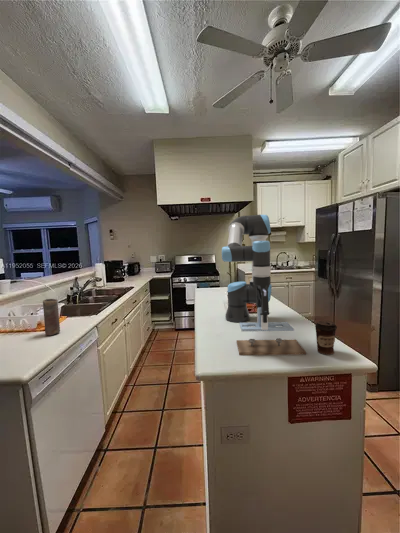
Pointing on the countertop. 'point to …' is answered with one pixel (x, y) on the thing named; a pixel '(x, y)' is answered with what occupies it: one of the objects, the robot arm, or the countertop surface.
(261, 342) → the boss board
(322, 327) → the coffee cup
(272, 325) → the panel
